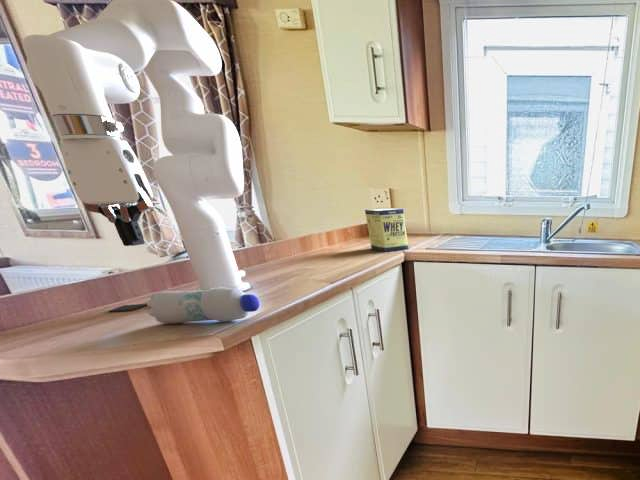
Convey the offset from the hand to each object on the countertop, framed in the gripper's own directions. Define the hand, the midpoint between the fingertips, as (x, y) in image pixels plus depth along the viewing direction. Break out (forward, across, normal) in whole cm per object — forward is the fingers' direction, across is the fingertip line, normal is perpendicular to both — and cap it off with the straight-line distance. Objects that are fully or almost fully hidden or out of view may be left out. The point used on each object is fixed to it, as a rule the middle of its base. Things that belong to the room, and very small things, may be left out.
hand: (134, 244), depth 78 cm
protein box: (+15, -26, -102) cm, 107 cm away
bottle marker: (+15, +18, -15) cm, 28 cm away
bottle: (+12, +1, 0) cm, 12 cm away
